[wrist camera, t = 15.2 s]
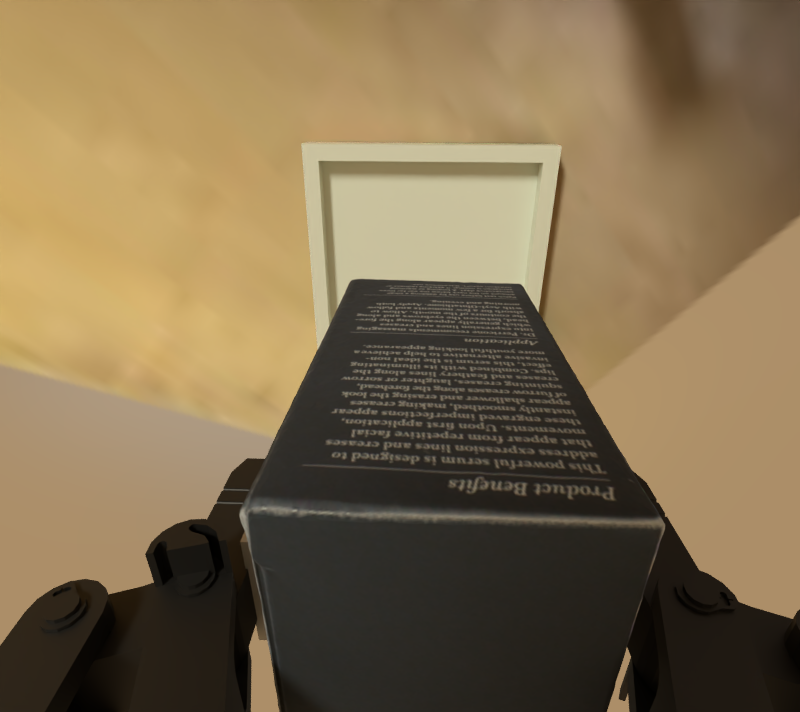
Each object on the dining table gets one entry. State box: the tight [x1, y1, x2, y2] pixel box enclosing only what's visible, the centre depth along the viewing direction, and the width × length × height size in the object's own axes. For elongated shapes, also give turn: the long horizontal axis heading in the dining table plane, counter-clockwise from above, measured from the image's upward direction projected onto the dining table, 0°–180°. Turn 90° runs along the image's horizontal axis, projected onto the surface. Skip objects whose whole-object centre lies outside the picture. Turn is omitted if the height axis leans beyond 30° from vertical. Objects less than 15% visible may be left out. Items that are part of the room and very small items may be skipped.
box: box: [239, 279, 665, 712], centre depth 13 cm, size 8×6×11 cm
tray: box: [301, 142, 562, 349], centre depth 28 cm, size 13×13×1 cm
